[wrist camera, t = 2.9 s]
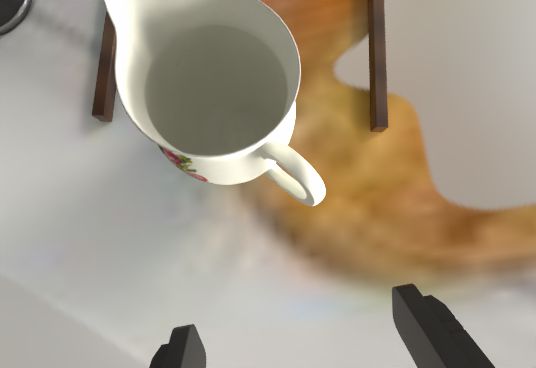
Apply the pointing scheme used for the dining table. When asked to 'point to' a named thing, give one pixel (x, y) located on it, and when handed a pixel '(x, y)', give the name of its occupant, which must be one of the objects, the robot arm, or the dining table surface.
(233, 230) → the dining table surface
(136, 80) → the pitcher
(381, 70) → the bay
